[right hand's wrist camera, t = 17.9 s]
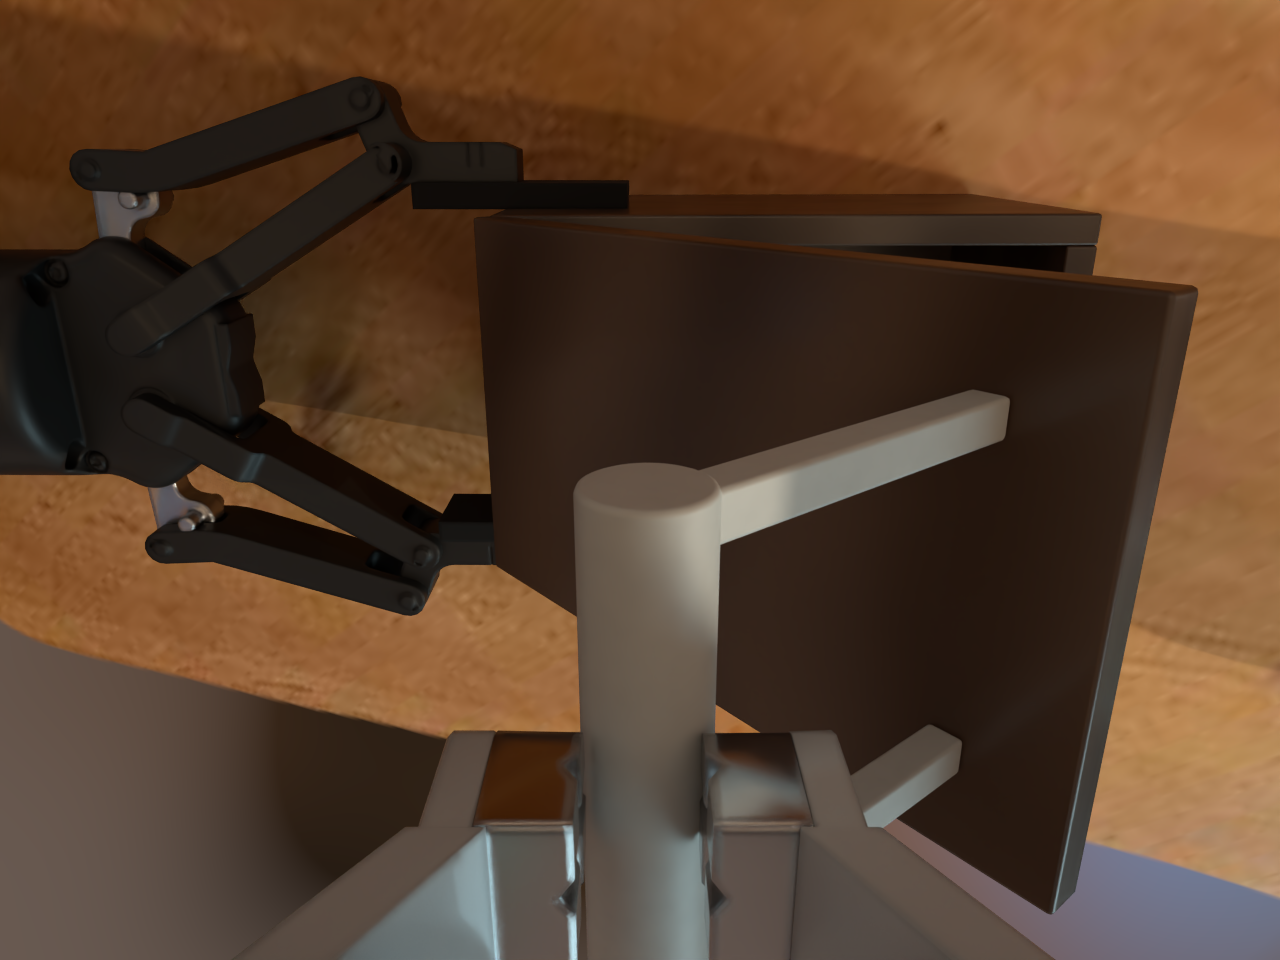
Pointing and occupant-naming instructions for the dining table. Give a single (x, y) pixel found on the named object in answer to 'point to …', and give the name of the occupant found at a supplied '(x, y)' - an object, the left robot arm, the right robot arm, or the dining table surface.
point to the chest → (868, 225)
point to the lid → (825, 530)
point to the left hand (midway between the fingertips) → (628, 366)
